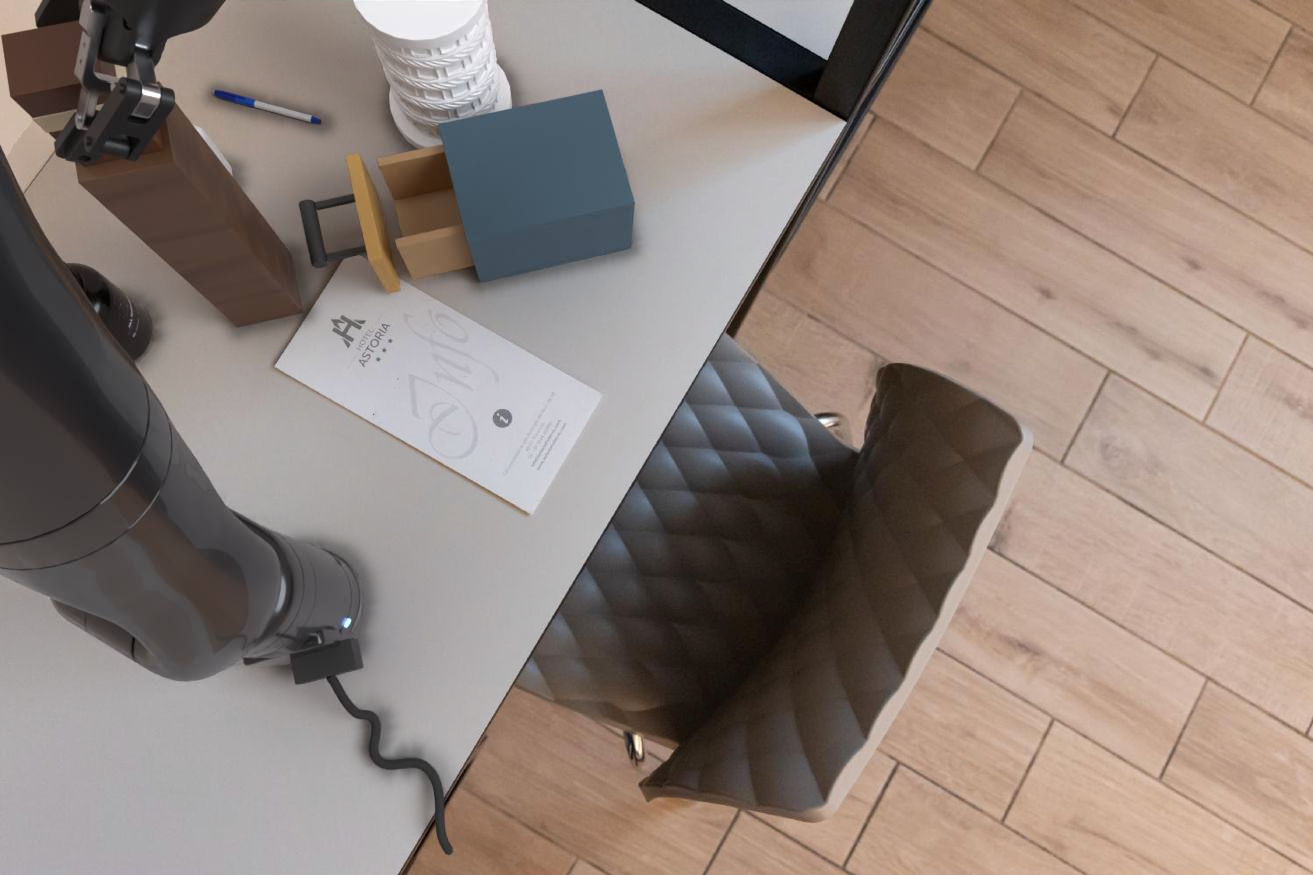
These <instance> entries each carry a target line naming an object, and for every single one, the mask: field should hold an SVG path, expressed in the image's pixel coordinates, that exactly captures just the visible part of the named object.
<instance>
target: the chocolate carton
mask: <svg viewBox="0 0 1313 875" xmlns="http://www.w3.org/2000/svg"><path fill="white" fill-rule="evenodd" d="M81 36H82V28H81V26H80V24H79V20H77V21H72V22H67V23H62V24H57V25H51V26H46V27H41V28H37V27H36V28H31V29H26V30H21V31H16V32H9V33H5V34H1V35H0V38H1V44H2V52H3V57H4V65H5V70H6V77H7V78H6V79H7V84H8V92H9V97H10V98H11V99H12V100H13V101H14V102H15V103H16V104H17V105H18V106H19V107H20V108H21V109H22V110H23V111H25V113H27V114H28V115H29V116H30V117H31V121H33V122H35V123H36V125H37V126H38V127H40V128H41V129H42V130H43V131H44V132H45V133H47V134H49V135H50V137H52V138H53V140H54V141H55V140H56V139H57V137H58V136H59V134H60V133H61V131H62V130H63V128H64V127H65V126H66V124H67V123H68V121H69V120H70V118H71V117H72V115H73V114H74V112H76V111H77V106H78V101H79V97H80V92H81V84H80V83H79V82H78V81H77V80H76V79H75V77H74V70H75V65H76V60H77V55H78V50H79V45H80V41H81ZM95 72H98V73H102V74H106V75H110V76H114V77H118V78H121V77H127V73H128V67H122V66H118V65H115V64H111V63H107V62H103V61H100V60H98V59H97V60H96V65H95ZM108 97H109V95H108V94H101V95H99V97H98V100H97V104H96V109H95V110H99V111H100V110H101V108H102V106H103V105H104V103H105V102H106V100H107V98H108ZM162 150H163V144H162V139H161V133H160V128H159V129H158V131H157V132H156V134H155V135H154V137H153V138H152V139H151V141H150V142H149V144H148V145H147V147H146V148H145V149H144V151H143V152H142V154H141V155H143V154H147V153H152V152H157V151H162ZM118 159H122V158H117V157H112V156H106V155H102V157H101V158H100V159H99V161H98V162H97V163H96V164H99V163H104V162H109V161H114V160H118ZM82 165H83V166H84V167H85V166H90V165H87V164H82Z"/></svg>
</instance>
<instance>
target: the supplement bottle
mask: <svg viewBox="0 0 1313 875" xmlns="http://www.w3.org/2000/svg"><path fill="white" fill-rule="evenodd" d="M63 262H64V263H65V264H66V266H67V267H68V268H69V270H70V271H71V273H72V275H73V276H74V278H75V279H76V281H77V282H78V284H79V285H80V287H81V288H82V290H83V291H84V293H85V294H86V296H87V298H88V299H89V301H90V302H91V304H92V306H93V307H94V309H95V310H96V312H97V314H98V315H99V317H100V318H101V320H102V321H103V323H104V325H105V326H106V327H107V329H108V330H109V331H110V333H111V334H112V335H113V336H114V337H115V339H116V340H117V341H118V342H119V344H120V345H121V346H122V347H123V349H124V350H125V351H126V352H127V354H128V355H129V356H130V358H131V359H132V360H133V362H134V363H135V362H136V361H137V360H139V359H140V358H141V357H142V356H143V355H144V353H145V352H146V351H147V350H148V348H149V346H150V344H151V342H152V341H151V340H152V337H153V323H152V320H151V317H150V315H149V314H148V312H147V310H146V309H145V308H144V307H143V306H142V305H141V304H140V303H139V302H138V301H136V300H135V299H133V298H132V297H131V296H130V295H128V294H127V293H126V292H125V291H124V290H122V289H121V288H119V286H117V285H116V284H114V282H112V281H111V280H110V279H108V278H107V277H106V276H105V275H103V274H102V273H101V272H100V271H98V270H97V269H95V268H94V267H91V266H89V265H87V264H84V263H79V262H66V261H65V260H63Z"/></svg>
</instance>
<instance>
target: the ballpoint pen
mask: <svg viewBox="0 0 1313 875" xmlns="http://www.w3.org/2000/svg"><path fill="white" fill-rule="evenodd" d="M213 95H214V96H215V97H217V98H219V99H222V100H225V101H229V102H231V103H232V102H233V103H236V104H241V105H242V106H247V107H251V108H257V109H260V110H264V111H268V112H272V113H275V114H277V115H278V114H279V115H282V116H286V117H289V118H293V119H296V120H300V121H304V122H307V123H311V124H312V123H313V124H321V123H322V119H320V118H318V117H316V116H314V115H310V114H307V113H303V112H300V111H297V110H292V109H289V108H286V107H281V106H277V105H274V104H270V103H267V102H263V101H259V100H257V99H254V98H250V97H247V96H243V95H240V94H236V93H232V92H229V91H225V90H222V89H215V90H214V92H213Z"/></svg>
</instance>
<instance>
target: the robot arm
mask: <svg viewBox="0 0 1313 875" xmlns="http://www.w3.org/2000/svg"><path fill="white" fill-rule="evenodd" d="M226 1H227V0H41V2H40V4H39V5H38V7H37V9H36V10H35V12H34V20H35V26H36V28H41V27H46V26H51V25H57V24H62V23H67V22H72V21H77V20H79V24H80V26H81V28H82V36H81V41H80V45H79V50H78V55H77V60H76V65H75V70H74V77H75V79H76V80H77V81H78V82H79V83H80V84H81V92H80V97H79V101H78V106H77V111H76V112H74V114H73V115H72V117H71V118H70V120H69V121H68V123H67V124H66V126H65V127H64V128H63V130H62V131H61V133H60V134H59V136H58V137H57V139H56V140H55V139H54V141H53V146H54V153H55V156H56V157H57V158H59V159H64V160H65V161H66V162H71V163H75V162H76V163H81V164H87V165H95V164H96V163H97V162H98V161H99V159H100V158H101V157H102V155H106V156H112V157H117V158H122V159H125V160H129V161H134V162H135V161H137V159H138V158H139V157H140V155H141V154H142V152H143V151H144V149H145V148H146V147H147V145H148V144H149V142H150V141H151V139H152V138H153V137H154V135H155V134H156V132H157V131H158V129H159V128H160V127H161V125H162V124H163V122H164V121H165V119H166V118H167V117H168V115H169V114H170V112H171V111H172V109H173V107H174V104H175V102H176V94H175V90H174V89H173V88H169V87H166V86H163V87H162V86H159V85H158V84H157V81H158V80H157V76H156V71H155V69H156V66H157V65H158V64H159V63H160V61H161V59H162V57H163V56H162V55H163V53H164V51H165V48H166V45H167V42H168V40H169V39H171V38H174V37H177V36H180V35H184V34H187V33H191V32H194V31H197V30H199V29H201V28H204V26H206V25H207V24H209V23H210V22H211V20H213V18H214V16H216V14H217V13H218V12H219V10H220V9H221V8H222V6H223V5H224V4H225V2H226ZM97 59H98V60H100V61H103V62H107V63H111V64H115V65H118V66H122V67H128V73H127V77H121V78H118V77H114V76H110V75H106V74H102V73H98V72H95V65H96V60H97ZM101 94H108V95H109V97H108V98H107V100H106V102H105V103H104V105H103V106H102V108H101V110H100V111H99V110H95V109H96V104H97V100H98V97H99V95H101ZM63 261H64V260H63V259H62V258H61V255H59V253H58V252H57V250H56V249H55V247H54V245H52V243H51V242H50V240H49V238H48V236H47V235H46V233H45V232H44V230H43V229H42V227H41V225H40V223H39V222H38V220H37V218H36V216H35V214H34V212H33V210H32V207H31V206H30V204H29V202H28V200H27V198H26V196H25V193H24V191H23V190H22V188H21V186H20V184H19V182H18V179H17V178H16V175H15V173H14V171H13V169H12V167H11V165H10V163H9V160H8V159H7V156H6V154H5V151H4V150H3V147H2V145H1V144H0V576H1V577H3V578H6V579H7V580H10V581H12V582H14V583H16V584H18V585H20V586H23V587H24V588H28V589H29V590H32V591H34V592H36V593H39V594H41V595H43V596H45V597H48V598H49V599H50V602H51V604H52V606H53V608H54V609H55V611H56V612H57V613H58V614H59V615H60V616H61V617H62V618H63V619H64V620H66V621H67V622H68V623H70V624H71V625H72V626H73V625H74V626H75V627H76V628H78V629H80V630H82V631H83V632H85V633H87V634H89V635H90V636H92V637H93V638H95V639H97V641H100V642H102V643H103V644H105V645H106V646H108V647H109V648H111V649H113V650H114V651H116V652H117V653H120V654H121V655H122V656H124V657H126V658H127V659H129V660H131V661H133V662H134V663H136V664H138V665H139V666H140V667H142V668H144V669H145V670H147V671H149V672H150V673H152V674H154V675H157V676H160V677H162V678H165V679H168V680H170V681H175V682H183V683H184V682H186V683H187V682H197V681H202V680H205V679H208V678H210V677H214V676H216V675H218V674H219V673H221V672H224V671H225V670H227V669H229V668H230V667H232V666H234V665H235V664H237V663H238V662H239V661H240V660H241V659H242V663H243V665H244V666H246V667H252V666H253V667H256V666H259V667H260V666H286V665H290V666H291V670H292V674H293V680H294V681H293V682H294V685H295V686H297V685H298V686H299V685H307V684H310V683H313V682H317V681H321V680H326V681H327V683H328V685H329V686H330V688H331V689H332V691H333V693H334V695H335V696H336V698H337V700H338V702H339V703H340V704H341V706H342V707H343V708H344V710H345V711H346V712H347V713H348V714H349V715H350V716H351V717H352V718H354V719H357V720H362V721H363V720H365V721H368V722H369V723H370V735H369V741H368V754H369V757H370V760H371V762H372V764H374V765H375V766H377V767H378V768H380V769H382V770H388V771H394V770H404V769H417V770H420V771H422V772H423V773H424V774H425V776H426V777H427V778H428V780H429V782H430V784H431V787H432V791H433V799H434V826H435V833H436V838H437V841H438V843H439V845H440V848H441V849H442V851H443V853H444V854H445V855H447V856H450V855H452V854H453V853H454V848H453V845H452V844H451V843H450V841H449V838H448V834H447V830H446V819H445V818H446V817H445V795H444V788H443V783H442V780H441V778H440V776H439V774H438V772H437V771H436V769H435V768H434V767H433V766H432V764H430V763H429V762H428V761H426V760H424V759H422V758H417V757H416V758H415V757H409V758H401V759H387V758H385V757H383V756H382V755H381V754H380V752H379V743H380V737H381V729H382V728H381V726H382V725H381V721H380V719H379V716H378V715H377V714H376V713H375V712H374V711H372V710H368V709H367V710H366V709H365V710H364V709H361V708H359V707H358V706H357V705H356V704H355V703H354V702H353V701H352V700H351V698H350V697H349V696H348V693H347V692H346V690H345V689H344V687H343V685H342V684H341V682H340V680H339V679H338V677H337V676H339V675H343V674H347V673H350V672H355V671H358V670H362V669H364V668H365V667H364V662H363V657H362V653H361V648H360V642H359V639H358V638H354V633H355V631H356V629H357V627H358V625H359V624H360V621H361V618H362V617H363V616H362V615H363V612H364V605H365V604H364V603H365V597H364V596H365V595H364V588H363V585H362V581H361V579H360V576H359V575H358V573H357V571H356V569H354V567H353V565H351V564H350V562H349V561H347V559H346V558H344V557H343V556H341V555H339V554H337V553H335V552H334V551H331V550H328V549H326V548H323V547H317V546H318V545H316V544H315V546H314V545H313V544H310V543H307V542H304V541H301V540H299V539H296V538H293V537H291V536H288V535H286V534H283V533H280V532H278V531H276V530H273V529H270V528H268V527H265V526H264V525H262V524H260V523H258V522H256V521H254V520H253V519H251V518H248V517H247V516H245V515H243V514H242V513H240V512H238V511H236V510H234V509H232V508H230V507H229V506H227V505H226V504H225V502H224V500H223V499H222V497H221V496H220V495H219V493H218V491H217V490H216V488H215V486H214V485H213V483H212V481H211V479H210V478H209V476H208V474H207V473H206V472H205V470H204V469H203V467H202V466H201V464H200V462H199V461H198V459H197V457H196V456H195V455H194V453H193V452H192V450H191V449H190V447H189V445H187V443H186V441H185V440H184V439H183V437H182V436H181V434H180V433H179V431H178V430H177V429H176V428H177V427H175V425H174V424H173V421H172V420H171V418H170V417H169V415H168V413H167V411H166V409H165V408H164V405H163V404H162V402H161V401H160V399H159V397H158V396H157V394H156V393H155V391H154V390H153V389H152V387H151V385H150V384H149V383H148V382H147V380H146V379H145V377H144V375H143V374H142V372H141V371H140V369H139V368H138V366H137V365H136V363H135V361H134V362H133V360H132V359H131V358H130V356H129V355H128V354H127V352H126V351H125V350H124V349H123V347H122V346H121V345H120V344H119V342H118V341H117V340H116V339H115V337H114V336H113V335H112V334H111V333H110V331H109V330H108V329H107V327H106V326H105V325H104V323H103V321H102V320H101V318H100V317H99V315H98V314H97V312H96V310H95V309H94V307H93V306H92V304H91V302H90V301H89V299H88V298H87V296H86V294H85V293H84V291H83V290H82V288H81V287H80V285H79V284H78V282H77V281H76V279H75V278H74V276H73V275H72V273H71V271H70V270H69V268H68V267H67V266H66V264H65V263H66V262H65V261H64V262H65V263H64V262H63Z"/></svg>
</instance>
